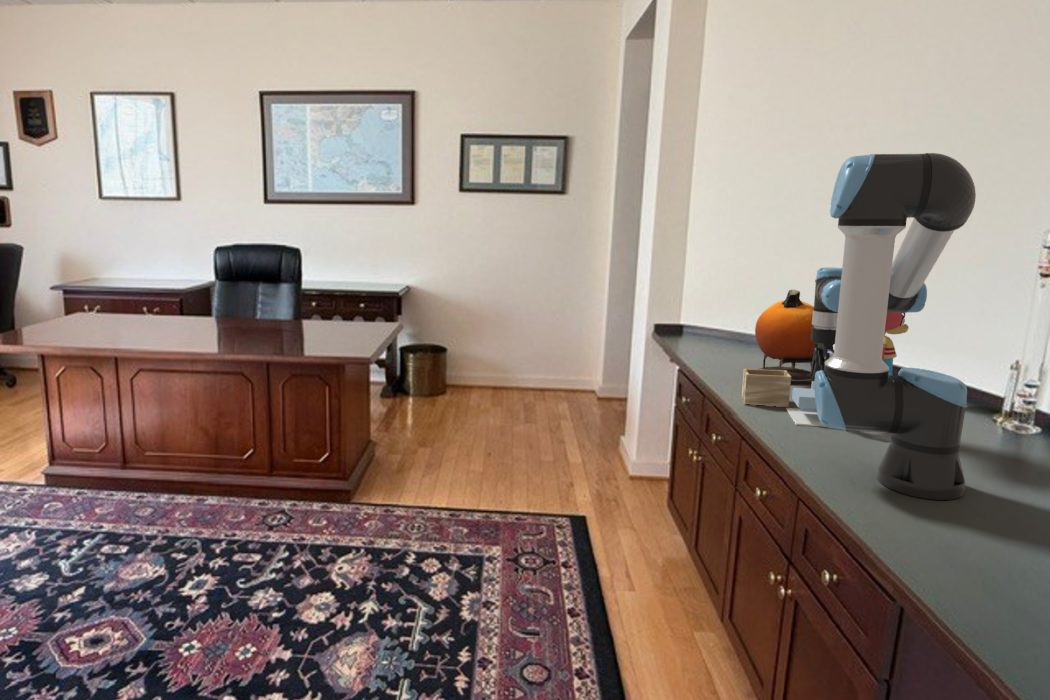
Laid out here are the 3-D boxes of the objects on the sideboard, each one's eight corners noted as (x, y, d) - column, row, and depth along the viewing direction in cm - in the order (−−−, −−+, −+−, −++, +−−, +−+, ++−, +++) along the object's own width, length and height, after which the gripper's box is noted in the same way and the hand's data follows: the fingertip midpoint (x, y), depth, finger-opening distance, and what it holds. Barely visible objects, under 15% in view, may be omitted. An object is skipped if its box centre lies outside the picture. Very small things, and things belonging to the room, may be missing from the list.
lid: (849, 416, 165) (851, 399, 164) (797, 413, 168) (799, 396, 167) (840, 406, 174) (842, 390, 173) (791, 403, 177) (792, 387, 176)
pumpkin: (778, 366, 231) (785, 283, 224) (837, 379, 212) (846, 289, 206) (738, 374, 219) (744, 287, 213) (797, 389, 200) (805, 294, 194)
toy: (909, 403, 185) (922, 300, 179) (871, 401, 187) (883, 299, 181) (891, 389, 199) (903, 294, 193) (856, 388, 201) (867, 293, 195)
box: (788, 407, 182) (791, 376, 180) (744, 404, 184) (746, 374, 182) (783, 399, 189) (786, 370, 187) (741, 397, 191) (743, 368, 189)
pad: (854, 428, 163) (854, 427, 163) (796, 424, 166) (796, 423, 166) (839, 412, 177) (839, 411, 177) (786, 409, 180) (786, 408, 180)
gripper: (854, 335, 155) (845, 423, 160) (832, 321, 176) (824, 399, 181) (821, 334, 157) (813, 421, 161) (803, 320, 177) (796, 398, 182)
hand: (819, 409), depth 171 cm, fingers closed on lid, 9 cm apart
